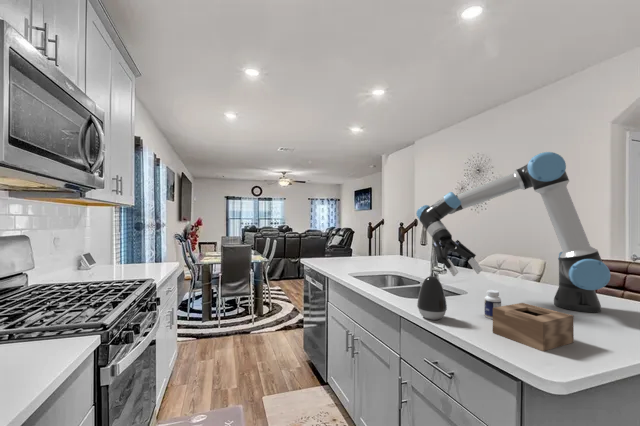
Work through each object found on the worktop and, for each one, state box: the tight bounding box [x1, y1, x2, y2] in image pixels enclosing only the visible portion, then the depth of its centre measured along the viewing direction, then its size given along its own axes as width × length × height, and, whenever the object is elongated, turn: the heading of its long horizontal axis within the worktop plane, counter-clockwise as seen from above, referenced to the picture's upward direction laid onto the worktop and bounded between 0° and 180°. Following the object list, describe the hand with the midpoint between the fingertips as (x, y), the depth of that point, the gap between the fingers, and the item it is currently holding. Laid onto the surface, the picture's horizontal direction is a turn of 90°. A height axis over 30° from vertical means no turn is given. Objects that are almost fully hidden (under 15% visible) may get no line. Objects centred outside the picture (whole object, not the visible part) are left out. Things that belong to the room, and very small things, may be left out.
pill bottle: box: [484, 289, 502, 320], centre depth 115 cm, size 5×5×10 cm
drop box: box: [492, 302, 575, 352], centre depth 96 cm, size 15×15×8 cm
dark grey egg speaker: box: [416, 275, 448, 321], centre depth 114 cm, size 10×10×15 cm
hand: (468, 273), depth 125 cm, fingers open, 13 cm apart
